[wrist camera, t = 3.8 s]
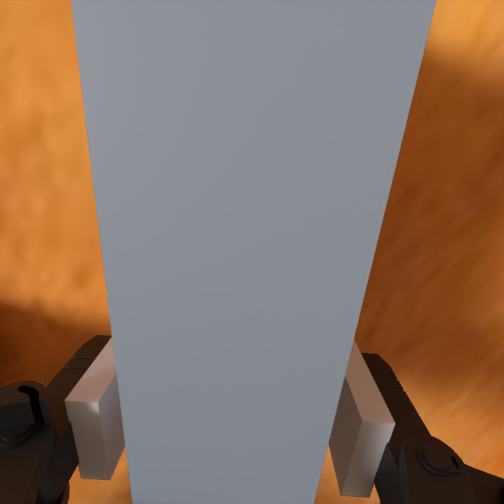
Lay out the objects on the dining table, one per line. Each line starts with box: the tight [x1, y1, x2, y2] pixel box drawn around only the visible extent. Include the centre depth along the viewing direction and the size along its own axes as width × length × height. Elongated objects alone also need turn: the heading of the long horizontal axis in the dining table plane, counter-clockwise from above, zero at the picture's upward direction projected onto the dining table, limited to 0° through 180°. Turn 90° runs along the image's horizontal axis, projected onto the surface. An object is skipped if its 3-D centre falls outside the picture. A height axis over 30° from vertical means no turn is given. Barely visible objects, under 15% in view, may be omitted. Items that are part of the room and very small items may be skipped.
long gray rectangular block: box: [71, 0, 436, 504], centre depth 8 cm, size 14×3×9 cm, turn 176°
